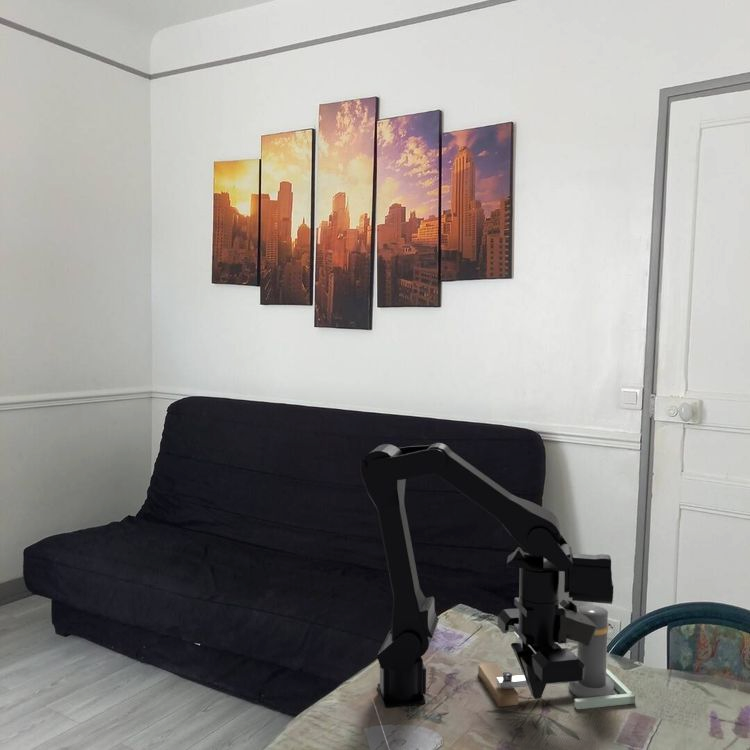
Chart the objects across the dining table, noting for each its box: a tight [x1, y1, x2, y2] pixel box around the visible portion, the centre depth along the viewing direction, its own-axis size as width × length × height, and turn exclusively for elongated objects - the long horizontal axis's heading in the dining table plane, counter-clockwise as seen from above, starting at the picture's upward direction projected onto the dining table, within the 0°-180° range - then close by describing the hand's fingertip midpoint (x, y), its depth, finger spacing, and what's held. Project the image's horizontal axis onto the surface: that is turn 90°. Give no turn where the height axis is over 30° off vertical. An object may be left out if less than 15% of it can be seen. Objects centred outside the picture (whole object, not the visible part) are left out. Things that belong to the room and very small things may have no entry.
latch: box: [496, 671, 577, 689], centre depth 110 cm, size 13×2×2 cm, turn 100°
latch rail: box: [477, 662, 519, 707], centre depth 112 cm, size 3×10×2 cm, turn 10°
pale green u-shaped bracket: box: [573, 667, 636, 710], centre depth 112 cm, size 10×10×1 cm
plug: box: [568, 604, 615, 699], centre depth 111 cm, size 7×7×13 cm
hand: (536, 697), depth 105 cm, fingers closed
